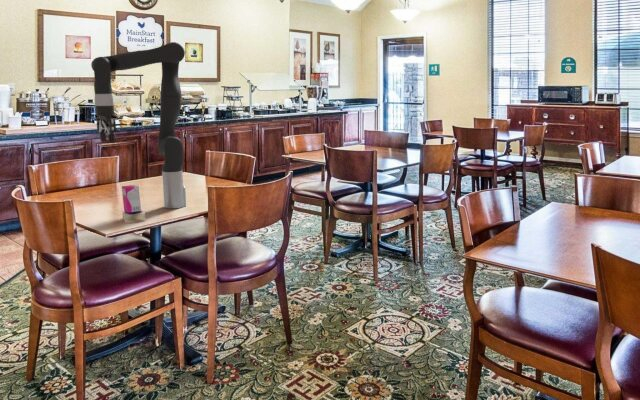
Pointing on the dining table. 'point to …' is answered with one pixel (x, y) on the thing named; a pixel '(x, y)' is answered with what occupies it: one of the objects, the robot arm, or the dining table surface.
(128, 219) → the maple block
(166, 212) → the dining table surface
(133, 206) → the supplement box
